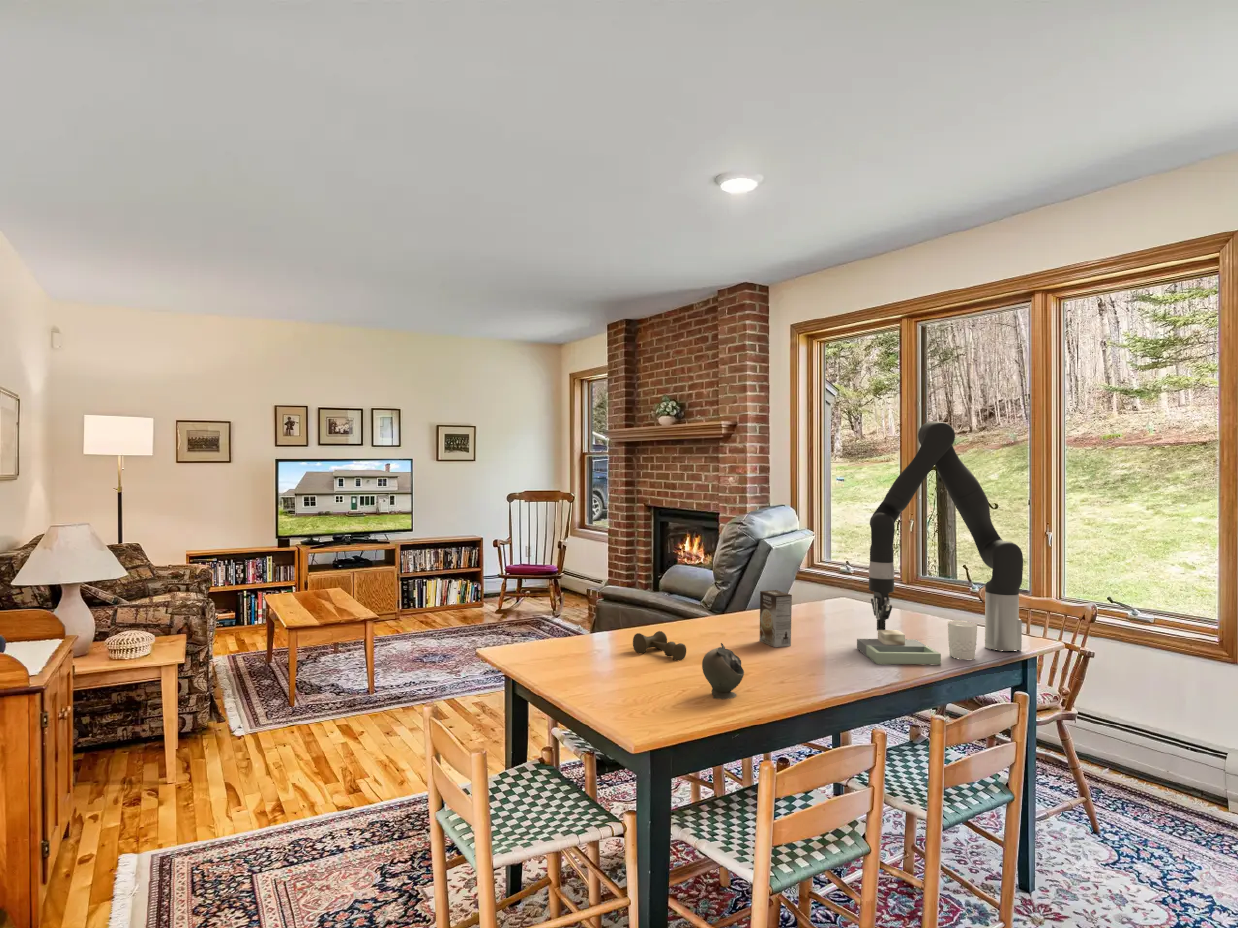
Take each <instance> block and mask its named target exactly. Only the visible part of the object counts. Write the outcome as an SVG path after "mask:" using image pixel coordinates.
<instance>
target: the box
mask: <svg viewBox="0 0 1238 928" xmlns="http://www.w3.org/2000/svg"><path fill="white" fill-rule="evenodd" d="M865 657H867V658H868V659H869V658H870V659H869V660H870V661H871V662H873V663H874V664H876V665H891V664H941V665H942V662H941V660H942V654H941V653H940V652H939V651H937V650H935V649H933V648H932V647H931V646H929V645H926V646H924V653H921V652H879V651H878V650H876V649H875V648H874V647H872V646H871V645H866V655H865Z"/></svg>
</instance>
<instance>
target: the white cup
mask: <svg viewBox="0 0 1238 928" xmlns="http://www.w3.org/2000/svg"><path fill="white" fill-rule="evenodd" d="M947 635H948V636H947V638H948V647H949V648H948V649H949V650H948V651H949V652H948V653H949V657H950V656H952V657H955V658H959V659H958V660H960V659H973V660H975V659H974V658H976V657H975V656H976V649H977V640H978V639H977V638H978V637H977V636H978V624H977V623H975V622H971V621H966V620H965V621H964V620H949V621H948V622H947ZM952 657H951V658H952ZM955 658H954V659H955Z"/></svg>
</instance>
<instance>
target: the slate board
mask: <svg viewBox="0 0 1238 928" xmlns="http://www.w3.org/2000/svg"><path fill="white" fill-rule="evenodd" d="M866 645H871V646H872V647H874V648H875V649H876V650H878V651H879V652H921V653H924V646H927V645H926V644H924V643H923V642H921V641H919V640H917V639H913V638H911V639H908V638H907V639H906V638H905V645H886V644H883V643H882V642H880V641H879V640H878V638H856V649H857V650H858V649H859V650H860V652H861V653H862V654H863V653H864V654H865V655H864V654H863V655H864V656H866Z"/></svg>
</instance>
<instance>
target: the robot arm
mask: <svg viewBox="0 0 1238 928" xmlns="http://www.w3.org/2000/svg"><path fill="white" fill-rule="evenodd" d="M917 438H918V442H919V445H920V447H919V449H918V451H917V452H916V454H915V456H914V457H913V459H912V460H911V461H910V462H909V464H908V465H907V466H906V467H905V468H904V470H902V471H901V473H900V474H899V475H898V476H897V477H896V479H895V480H894V482H893V483H892V485H891V486H890V488H889V489H888V491H887V493H886V495H885V497H884V498H883V500H882V502H880V504H879V505H878V507H877V508H876V509H875V511H874V512H873V514H872V515H871V517H870V519H869V526H870V538H871V540H870V542H871V543H870V548H869V567H868V590H869V591H870V592H873V597H872V598H870V603H871V607H872V611H873V615H874V616H875V619H876V631H877V632H878V630H886V621H887V620H889V618H890V615H891V613H892V609H893V605H892V604H890V601H891V598H890V596H889V594H892V593H894V592H895V563H894V557H895V556H894V555H895V553H894V550H895V549H894V541H895V533H896V532H895V527H896V526H895V524H896V521H897V520H898V518H899V516H900V514H901V513H903V511H904V510H905V509H906V508H907V507H908V505H909V504H910V502H911V501H912V500H913V497H914V496H915V494H916V493H917V491H918V489H919V488H920V486H921V484H922V483H923V481H924V480H925V479H926V477H927V476H928V475H929V473H930V472H931V471H932V469H933V468H934V467H935V469H936V470H937V472H938V475H939V476H940V479H941V481H942V483H943V485H944V487H945V489H946V492H947V493H948V495H949V497H950V499H951V500H952V503H953V505H954V506H955V508H956V510H957V511H958V513H959V514H960V517H961V519H962V521H963V522H964V524H965V526H966V527H967V529H968V531H969V532H970V534H971V537H972V539H973V541H974V544H975V546H976V549H977V552H978V554H979V555H980V558H981V560H982V562H983V563H984V564H985V566H987V567H988V568H990V569H992V573H991V578H990V580H989V581H987V582H986V583H985V586H984V592H985V594H984V595H985V596H984V597H985V598H984V602H985V603H984V605H985V607H984V609H985V610H984V612H985V613H984V648H986V649H987V650H991V649H997V650H1003V651H1014V650H1022V643H1023V642H1022V641H1023V636H1022V633H1023V632H1022V631H1023V630H1022V629H1023V627H1022V626H1023V625H1022V624H1023V621H1022V619H1021V618H1020V613H1019V612H1020V588H1021V586H1022V583H1023V575H1024V574H1023V572H1024V556H1023V551H1022V549H1021V548H1020V546H1019V545H1017V544H1016V543H1015V542H1011V541H1007V540H1003V539H1002V538H1001V536H1000V535H999V533H998V532H997V530H996V528H995V527H994V525H993V522H992V518H991V511H990V504H989V503H990V502H989V499H988V497H987V495H986V493H985V491H984V489H983V488H982V486H981V484H980V482H979V480H978V479H977V478H976V476H975V475H974V474H973V473H972V471H971V470H970V469H969V468H968V467H967V466H966V464H965V463H963V461H962V460H961V459H960V456H958V454H957V452H956V450H955V448H954V446H953V444H954V443H955V440H956V432H955V429H954V428H953V427H952V426H951V425H950V424H949V423H947V422H943V421H927V422H925V423H924V424H922V425H921V426H920V428H919V430H918V433H917Z"/></svg>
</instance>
